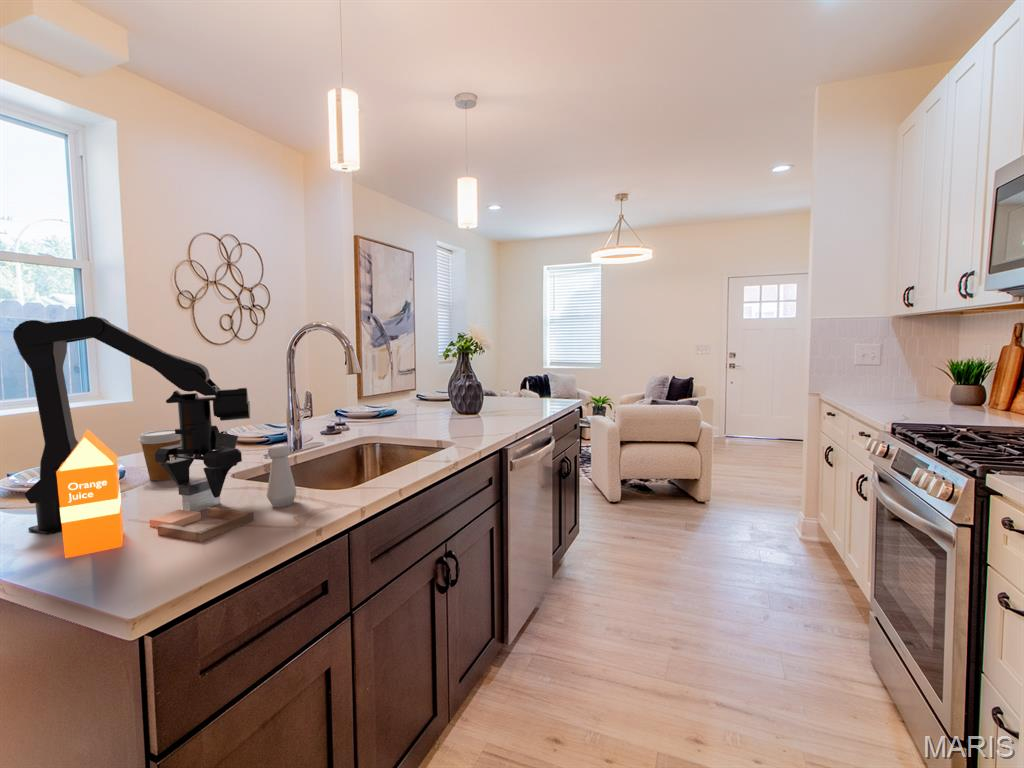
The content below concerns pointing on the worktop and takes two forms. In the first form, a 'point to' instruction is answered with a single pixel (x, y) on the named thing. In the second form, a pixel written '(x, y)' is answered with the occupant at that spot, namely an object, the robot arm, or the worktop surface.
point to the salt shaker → (280, 477)
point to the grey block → (197, 495)
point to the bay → (234, 521)
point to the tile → (176, 518)
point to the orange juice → (90, 498)
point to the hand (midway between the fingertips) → (201, 495)
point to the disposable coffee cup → (151, 445)
